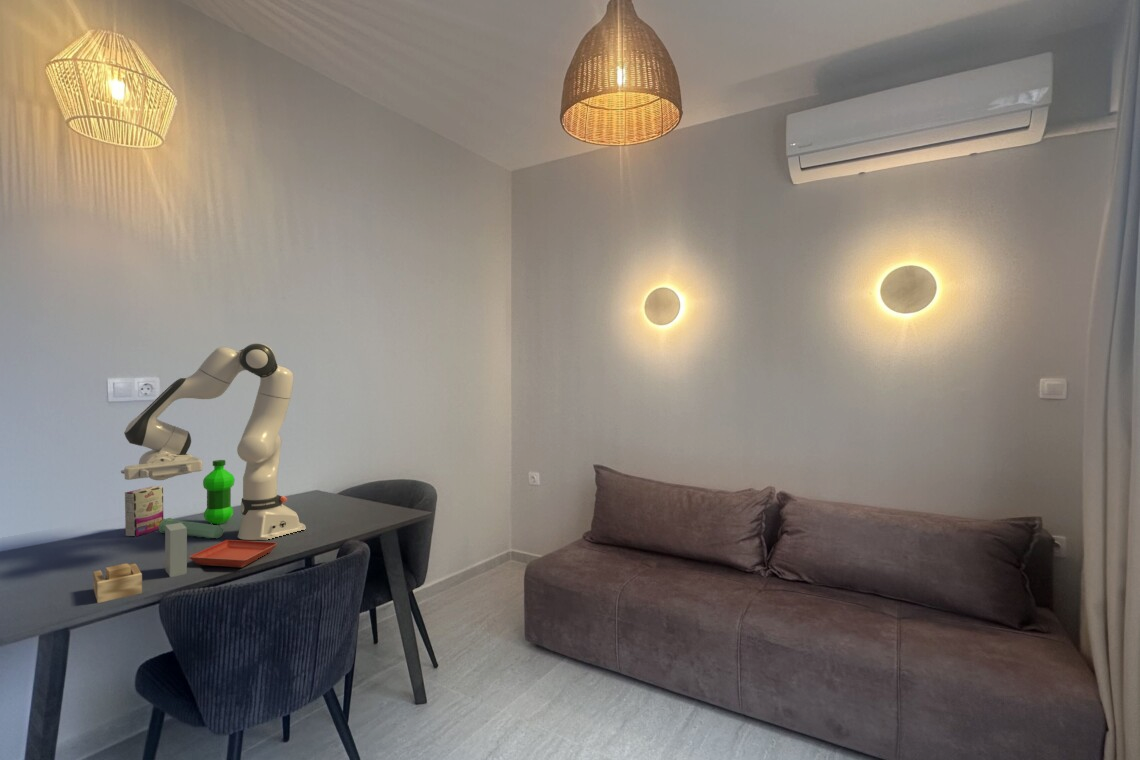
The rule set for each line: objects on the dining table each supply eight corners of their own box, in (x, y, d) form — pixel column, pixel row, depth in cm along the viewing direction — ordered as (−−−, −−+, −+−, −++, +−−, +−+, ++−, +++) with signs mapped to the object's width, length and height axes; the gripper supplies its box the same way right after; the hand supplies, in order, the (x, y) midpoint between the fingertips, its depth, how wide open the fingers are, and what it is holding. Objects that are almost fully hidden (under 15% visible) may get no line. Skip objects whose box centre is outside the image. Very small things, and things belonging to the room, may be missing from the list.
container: (224, 521, 196) (170, 514, 201) (210, 531, 190) (155, 524, 196) (228, 534, 198) (175, 527, 204) (215, 544, 193) (161, 537, 198)
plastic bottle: (214, 518, 219) (215, 458, 218) (239, 519, 218) (240, 459, 218) (196, 526, 209) (197, 462, 208) (222, 526, 208) (223, 463, 208)
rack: (135, 584, 152) (135, 563, 152) (141, 596, 144) (141, 574, 144) (93, 593, 146) (93, 571, 146) (97, 606, 138) (97, 583, 138)
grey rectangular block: (181, 567, 164) (181, 522, 163) (186, 574, 158) (186, 528, 158) (165, 571, 161) (165, 525, 161) (170, 578, 155) (170, 530, 155)
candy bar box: (153, 527, 206) (153, 485, 205) (164, 528, 205) (164, 486, 204) (123, 536, 195) (124, 491, 194) (135, 537, 194) (135, 492, 193)
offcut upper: (127, 574, 147) (127, 563, 147) (130, 577, 144) (130, 566, 144) (105, 578, 143) (105, 567, 143) (109, 582, 141) (109, 571, 141)
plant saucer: (278, 551, 181) (278, 541, 181) (244, 570, 163) (244, 559, 163) (226, 549, 182) (226, 539, 182) (187, 567, 164) (187, 556, 164)
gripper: (119, 461, 169) (125, 466, 160) (196, 453, 184) (206, 457, 175) (120, 480, 170) (126, 487, 160) (196, 471, 184) (206, 476, 175)
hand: (168, 471), depth 167 cm, fingers open, 8 cm apart
